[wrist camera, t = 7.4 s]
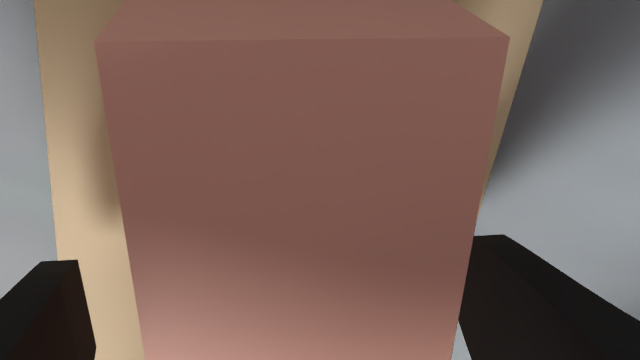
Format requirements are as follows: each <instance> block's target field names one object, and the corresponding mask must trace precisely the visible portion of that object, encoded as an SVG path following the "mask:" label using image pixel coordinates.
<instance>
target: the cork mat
mask: <svg viewBox="0 0 640 360" xmlns="http://www.w3.org/2000/svg"><path fill="white" fill-rule="evenodd" d="M33 1H34V12H35V22H36V33H37V44H38V54H39V65H40V75H41V86H42V97H43V107H44V118H45V129H46V139H47V150H48V160H49V171H50V182H51V192H52V203H53V213H54V224H55V235H56V245H57V256H58V261H60V260H77V259H78V263H79V268H80V272H81V277H82V282H83V286H84V291H85V296H86V300H87V305H88V310H89V314H90V319H91V324H92V328H93V333H94V337H95V342H96V354H95V360H145V355H144V349H143V343H142V337H141V331H140V324H139V318H138V312H137V306H136V300H135V294H134V287H133V281H132V275H131V269H130V263H129V256H128V250H127V244H126V238H125V232H124V226H123V219H122V213H121V207H120V201H119V195H118V189H117V182H116V176H115V170H114V164H113V158H112V152H111V145H110V139H109V133H108V127H107V121H106V115H105V108H104V102H103V96H102V90H101V84H100V78H99V71H98V65H97V59H96V53H95V47H94V40H95V39H96V38H97V36H98V35H99V34H100V32H101V31H102V30H103V28H104V27H105V26H106V24H107V23H108V22H109V20H110V19H111V18H112V16H113V15H114V14H115V13H116V11H117V10H118V9H119V7H120V6H121V5H122V3H123V2H124V1H125V0H33ZM451 1H453V2H454V3H456V4H458V5H459V6H461V7H462V8H464V9H466V10H467V11H469V12H471V13H472V14H474V15H475V16H477V17H479V18H480V19H482V20H483V21H485V22H487V23H488V24H490V25H492V26H493V27H495V28H496V29H498V30H500V31H501V32H503V33H504V34H506V35H508V36H509V37H510V41H509V47H508V52H507V58H506V63H505V69H504V74H503V79H502V85H501V90H500V96H499V101H498V107H497V112H496V117H495V123H494V128H493V134H492V139H491V144H490V150H489V155H488V161H487V166H486V172H485V177H484V182H483V188H482V193H481V199H480V204H479V210H480V207H481V204H482V200H483V197H484V194H485V191H486V187H487V184H488V181H489V177H490V174H491V171H492V168H493V164H494V161H495V158H496V154H497V151H498V148H499V145H500V141H501V138H502V135H503V131H504V128H505V125H506V121H507V118H508V115H509V112H510V108H511V105H512V102H513V98H514V95H515V92H516V89H517V85H518V82H519V79H520V75H521V72H522V69H523V66H524V62H525V59H526V56H527V52H528V49H529V46H530V43H531V39H532V36H533V33H534V29H535V26H536V23H537V20H538V16H539V13H540V10H541V6H542V3H543V0H451ZM479 210H478V214H479ZM477 217H478V215H477Z"/></svg>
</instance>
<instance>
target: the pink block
mask: <svg viewBox="0 0 640 360" xmlns="http://www.w3.org/2000/svg"><path fill="white" fill-rule="evenodd" d="M509 41H510V37H509V36H508V35H506V34H504V33H503V32H501V31H500V30H498V29H496V28H495V27H493V26H492V25H490V24H488V23H487V22H485V21H483V20H482V19H480V18H479V17H477V16H475V15H474V14H472V13H471V12H469V11H467V10H466V9H464V8H462V7H461V6H459V5H458V4H456V3H454V2H453V1H451V0H125V1H124V2H123V3H122V5H121V6H120V7H119V9H118V10H117V11H116V13H115V14H114V15H113V16H112V18H111V19H110V20H109V22H108V23H107V24H106V26H105V27H104V28H103V30H102V31H101V32H100V34H99V35H98V36H97V38H96V39H95V40H94V47H95V53H96V59H97V65H98V71H99V78H100V84H101V90H102V96H103V102H104V108H105V115H106V121H107V127H108V133H109V139H110V145H111V152H112V158H113V164H114V170H115V176H116V182H117V189H118V195H119V201H120V207H121V213H122V219H123V226H124V232H125V238H126V244H127V250H128V256H129V263H130V269H131V275H132V281H133V287H134V294H135V300H136V306H137V312H138V318H139V324H140V331H141V337H142V343H143V349H144V355H145V360H451V356H452V351H453V345H454V340H455V334H456V329H457V323H458V318H459V313H460V307H461V302H462V296H463V291H464V285H465V280H466V275H467V269H468V264H469V258H470V253H471V248H472V242H473V237H474V231H475V226H476V220H477V215H478V210H479V204H480V199H481V193H482V188H483V182H484V177H485V172H486V166H487V161H488V155H489V150H490V144H491V139H492V134H493V128H494V123H495V117H496V112H497V107H498V101H499V96H500V90H501V85H502V79H503V74H504V69H505V63H506V58H507V52H508V47H509Z"/></svg>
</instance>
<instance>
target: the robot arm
mask: <svg viewBox="0 0 640 360" xmlns="http://www.w3.org/2000/svg"><path fill="white" fill-rule="evenodd" d="M458 321H459V324H460V327H461V330H462V333H463V336H464V339H465V342H466V345H467V348H468V350H469V353H470V356H471V359H472V360H640V321H639V320H637V319H635V318H634V317H632V316H630V315H629V314H627V313H625V312H624V311H622V310H620V309H619V308H617V307H615V306H614V305H612V304H611V303H609V302H607V301H606V300H604V299H603V298H601V297H599V296H598V295H596V294H595V293H593V292H592V291H590V290H589V289H587V288H585V287H584V286H582V285H581V284H579V283H578V282H576V281H575V280H573V279H572V278H570V277H569V276H567V275H566V274H564V273H563V272H561V271H560V270H558V269H557V268H555V267H554V266H552V265H551V264H549V263H548V262H546V261H545V260H543V259H542V258H540V257H539V256H537V255H536V254H534V253H533V252H531V251H530V250H528V249H527V248H525V247H523V246H522V245H520V244H519V243H517V242H516V241H514V240H512V239H511V238H509V237H507V236H505V235H486V236H474V237H473V242H472V248H471V253H470V258H469V264H468V269H467V275H466V280H465V285H464V291H463V296H462V302H461V307H460V313H459V318H458ZM95 354H96V342H95V337H94V333H93V328H92V324H91V319H90V314H89V310H88V305H87V300H86V296H85V291H84V286H83V282H82V277H81V272H80V268H79V263H78V259H77V260H60V261H43V262H40V263H39V264H38V265H37V266H35V267H34V268H33V269H32V270H31V271H30V272H29V273H28V274H27V275H26V276H25V277H24V278H22V279H21V280H20V281H19V282H18V283H17V284H16V285H15V286H14V287H13V288H12V289H11V290H10V291H9V292H8V293H7V294H6V295H5V296H4V297H2V298H1V299H0V360H95Z"/></svg>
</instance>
